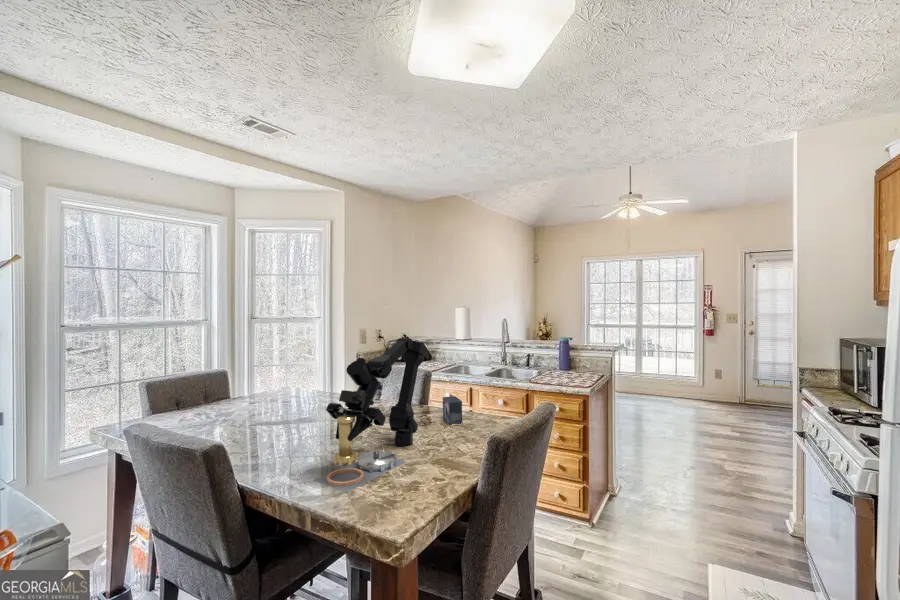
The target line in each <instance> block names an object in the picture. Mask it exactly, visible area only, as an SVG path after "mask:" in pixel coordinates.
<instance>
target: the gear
mask: <svg viewBox="0 0 900 600" xmlns="http://www.w3.org/2000/svg"><path fill="white" fill-rule="evenodd" d="M397 459H398V458H397V454H396V453H394V454H393V453H392V451H384V450H374V451H372V450H370V451H368V452H365V453H364V452H362V453H360V454H359V456H358V459H357V462H355V468H356V469H357V468H359V469H360V470H362V471H367V472H369V473H373V472H379V471H380V472H384V470H388V469H392V470H394V469H393V466H394V465H397Z"/></svg>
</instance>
